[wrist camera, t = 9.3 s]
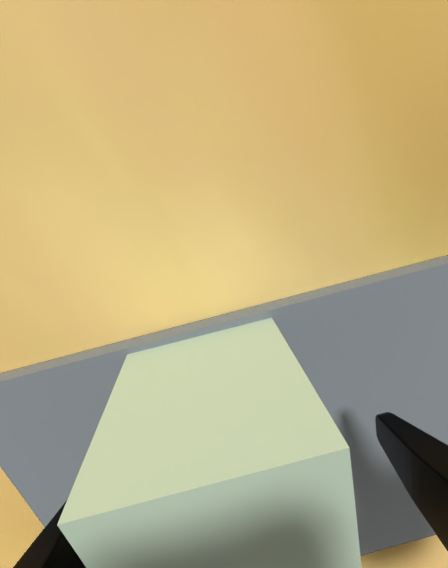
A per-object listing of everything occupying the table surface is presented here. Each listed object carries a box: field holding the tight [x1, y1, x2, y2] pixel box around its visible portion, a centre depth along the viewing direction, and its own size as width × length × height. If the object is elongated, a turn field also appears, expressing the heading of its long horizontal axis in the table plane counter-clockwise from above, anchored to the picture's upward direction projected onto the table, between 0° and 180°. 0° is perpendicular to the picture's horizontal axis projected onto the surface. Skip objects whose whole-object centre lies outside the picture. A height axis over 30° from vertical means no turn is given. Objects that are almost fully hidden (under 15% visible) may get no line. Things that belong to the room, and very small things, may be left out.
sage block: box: [57, 318, 362, 568], centre depth 8 cm, size 5×5×5 cm
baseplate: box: [0, 255, 448, 556], centre depth 12 cm, size 20×15×1 cm
